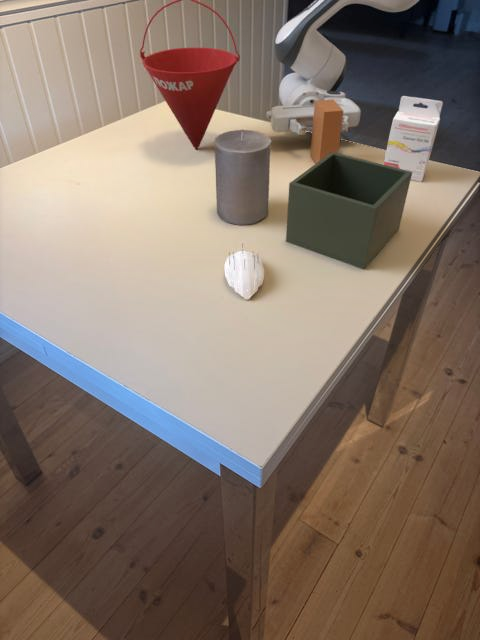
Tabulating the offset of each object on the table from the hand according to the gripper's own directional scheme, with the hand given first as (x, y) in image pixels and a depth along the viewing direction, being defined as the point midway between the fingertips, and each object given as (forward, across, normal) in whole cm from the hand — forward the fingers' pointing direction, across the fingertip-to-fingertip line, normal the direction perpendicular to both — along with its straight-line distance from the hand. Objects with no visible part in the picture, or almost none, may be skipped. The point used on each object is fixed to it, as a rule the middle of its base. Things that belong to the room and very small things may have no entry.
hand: (323, 129), depth 105 cm
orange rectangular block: (+2, 0, +6) cm, 7 cm away
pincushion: (+41, -24, +6) cm, 48 cm away
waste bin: (+32, -5, +6) cm, 33 cm away
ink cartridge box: (+11, +15, +7) cm, 20 cm away
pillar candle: (+21, -21, +6) cm, 31 cm away
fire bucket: (-10, -27, +6) cm, 30 cm away
